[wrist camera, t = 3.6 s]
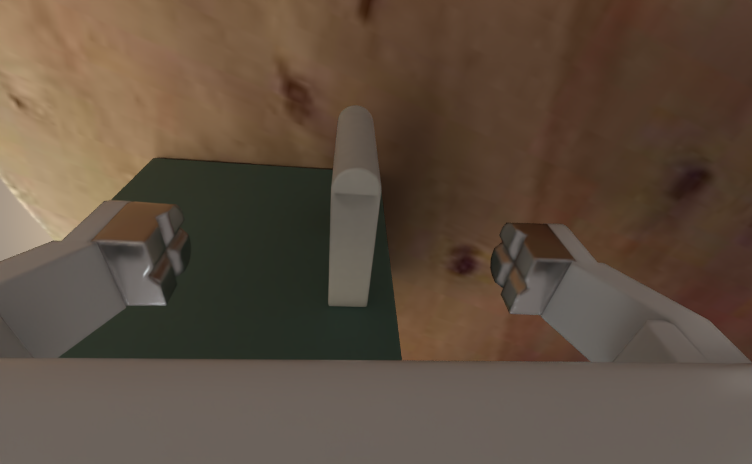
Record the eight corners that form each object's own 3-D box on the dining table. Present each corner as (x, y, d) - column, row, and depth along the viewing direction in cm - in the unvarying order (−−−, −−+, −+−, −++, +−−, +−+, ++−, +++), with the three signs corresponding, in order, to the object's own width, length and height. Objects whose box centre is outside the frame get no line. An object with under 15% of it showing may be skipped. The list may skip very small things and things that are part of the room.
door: (120, 49, 19) (-381, 237, 6) (390, 74, 20) (454, 270, 7) (156, 168, 23) (-91, 429, 10) (378, 182, 25) (405, 426, 12)
